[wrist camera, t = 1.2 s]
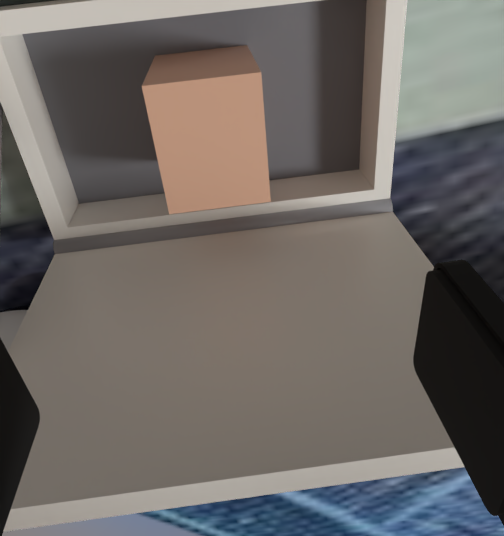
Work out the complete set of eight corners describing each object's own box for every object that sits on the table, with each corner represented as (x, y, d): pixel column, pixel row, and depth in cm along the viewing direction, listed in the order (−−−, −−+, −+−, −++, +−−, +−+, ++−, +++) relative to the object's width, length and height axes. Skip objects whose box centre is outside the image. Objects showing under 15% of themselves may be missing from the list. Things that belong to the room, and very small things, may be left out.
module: (256, 151, 28) (270, 201, 23) (175, 161, 28) (169, 214, 23) (247, 45, 25) (261, 72, 19) (155, 55, 25) (141, 85, 19)
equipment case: (370, 199, 32) (548, 455, 15) (61, 238, 31) (-88, 544, 15) (384, -37, 24) (766, -17, 8) (-25, 9, 23) (-523, 130, 7)
